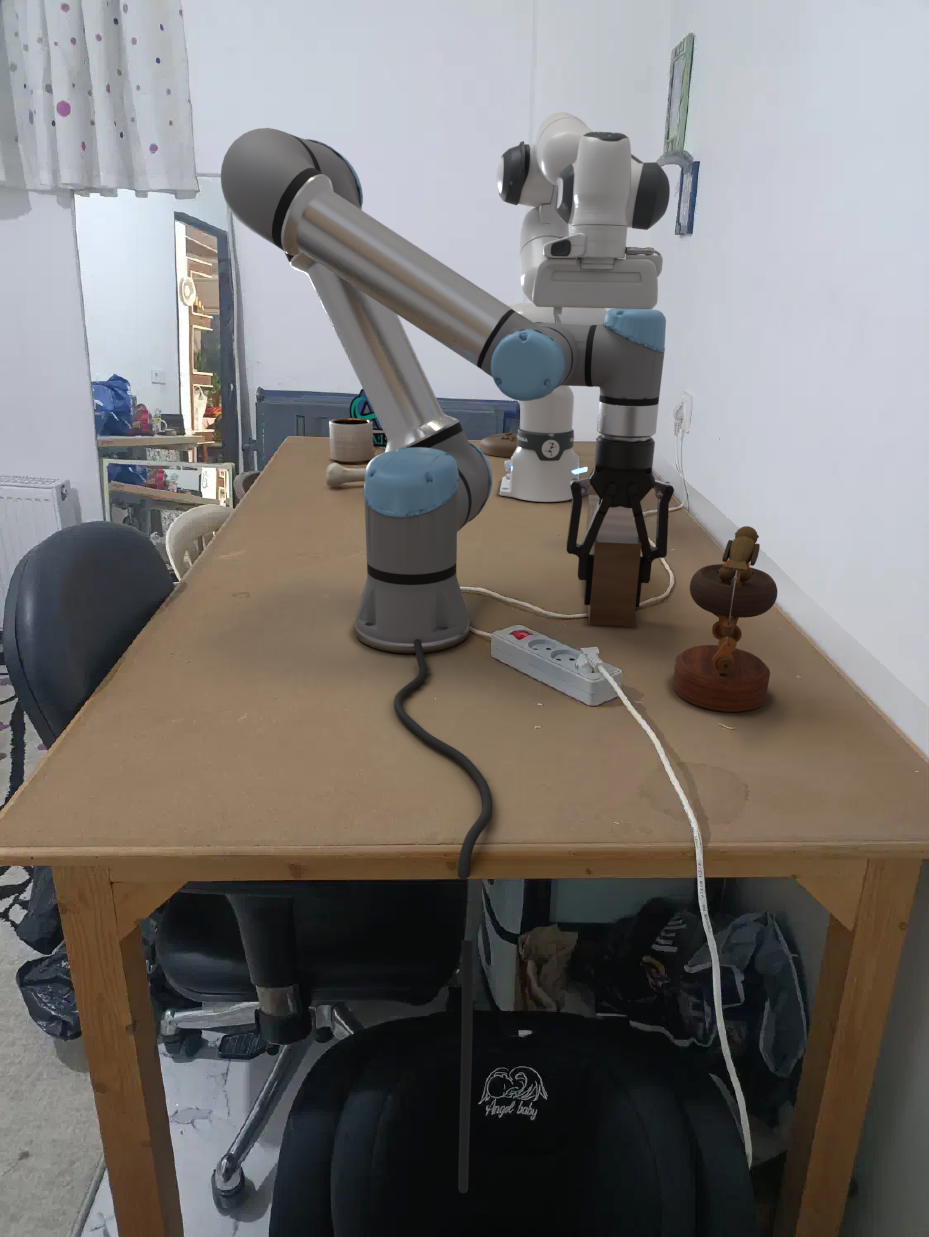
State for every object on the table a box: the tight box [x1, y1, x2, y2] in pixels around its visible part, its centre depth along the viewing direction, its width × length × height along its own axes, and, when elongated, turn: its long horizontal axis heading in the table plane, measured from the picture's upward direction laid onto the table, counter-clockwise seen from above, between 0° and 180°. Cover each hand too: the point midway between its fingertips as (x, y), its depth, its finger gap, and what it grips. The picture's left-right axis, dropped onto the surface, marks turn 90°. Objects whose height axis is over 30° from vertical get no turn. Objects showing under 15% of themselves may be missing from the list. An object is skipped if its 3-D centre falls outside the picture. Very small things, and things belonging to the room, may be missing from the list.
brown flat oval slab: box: [479, 431, 518, 458], centre depth 221 cm, size 21×28×4 cm
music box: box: [672, 525, 778, 713], centre depth 95 cm, size 15×11×20 cm
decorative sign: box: [348, 388, 388, 447], centre depth 230 cm, size 19×2×15 cm, turn 86°
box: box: [585, 494, 642, 628], centre depth 126 cm, size 26×6×12 cm, turn 174°
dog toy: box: [325, 462, 366, 487], centre depth 188 cm, size 20×6×5 cm, turn 99°
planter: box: [328, 417, 375, 464], centre depth 212 cm, size 11×11×10 cm
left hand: (611, 602), depth 118 cm, fingers closed on box, 6 cm apart
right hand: (591, 337), depth 140 cm, fingers open, 8 cm apart
